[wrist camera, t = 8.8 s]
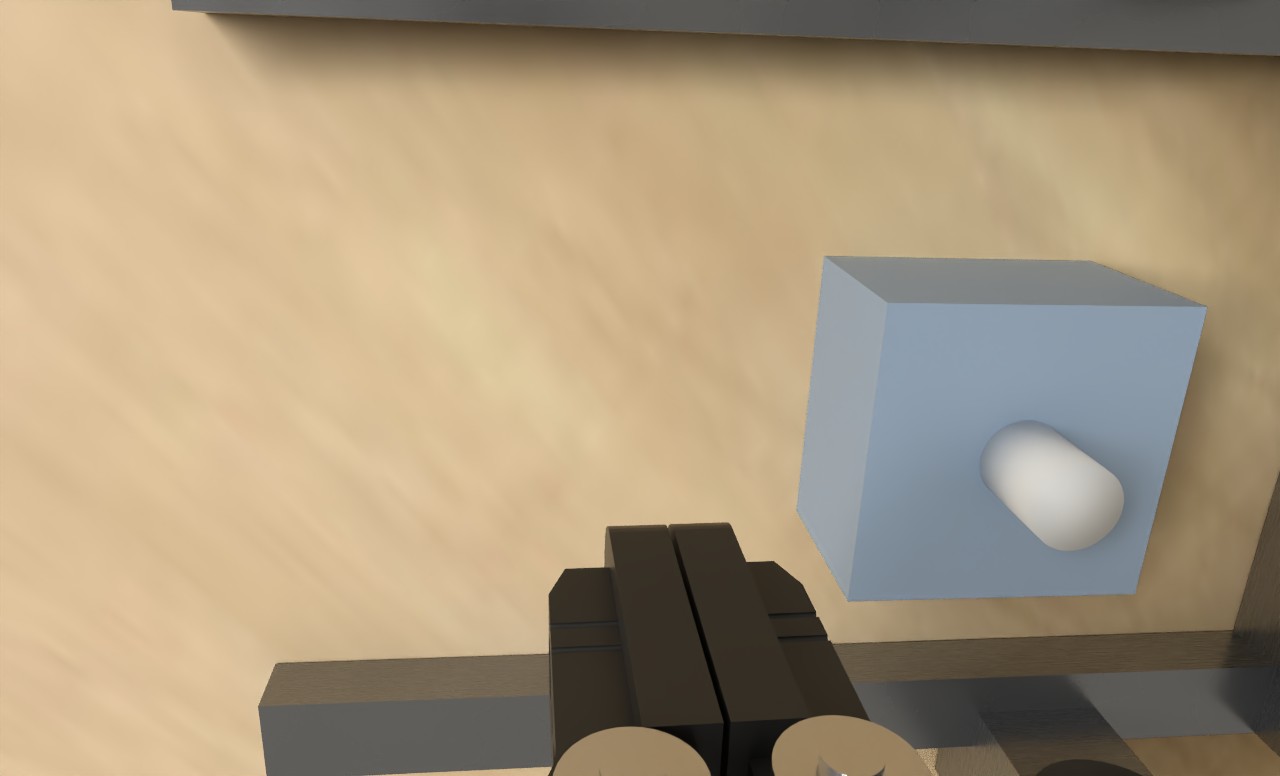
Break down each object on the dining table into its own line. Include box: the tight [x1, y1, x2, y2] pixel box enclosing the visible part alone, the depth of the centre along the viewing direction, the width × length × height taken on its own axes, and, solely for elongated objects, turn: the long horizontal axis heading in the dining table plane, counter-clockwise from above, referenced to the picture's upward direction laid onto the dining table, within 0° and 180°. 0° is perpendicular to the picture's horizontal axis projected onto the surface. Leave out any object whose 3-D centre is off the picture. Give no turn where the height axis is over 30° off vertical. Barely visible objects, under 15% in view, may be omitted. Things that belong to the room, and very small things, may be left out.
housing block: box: [797, 256, 1208, 601], centre depth 19 cm, size 6×6×6 cm
